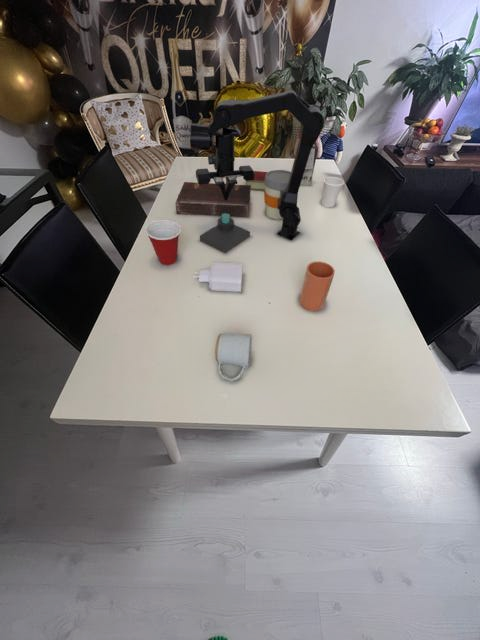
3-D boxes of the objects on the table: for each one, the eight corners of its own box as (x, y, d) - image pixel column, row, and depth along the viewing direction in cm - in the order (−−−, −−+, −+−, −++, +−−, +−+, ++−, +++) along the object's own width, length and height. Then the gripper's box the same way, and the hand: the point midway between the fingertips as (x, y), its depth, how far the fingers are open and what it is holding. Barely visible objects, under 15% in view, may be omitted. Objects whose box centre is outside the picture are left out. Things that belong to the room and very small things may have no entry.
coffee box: (311, 185, 141) (318, 148, 130) (297, 185, 141) (303, 148, 130) (308, 177, 148) (315, 141, 136) (295, 177, 148) (301, 141, 136)
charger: (196, 271, 96) (242, 274, 96) (191, 290, 90) (241, 293, 89) (194, 259, 92) (243, 261, 92) (189, 278, 86) (241, 281, 86)
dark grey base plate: (225, 224, 116) (224, 215, 113) (250, 236, 111) (251, 226, 108) (199, 240, 108) (198, 230, 105) (225, 253, 103) (225, 243, 100)
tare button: (225, 218, 112) (225, 212, 110) (231, 221, 110) (231, 215, 108) (220, 222, 110) (219, 215, 108) (226, 224, 109) (226, 218, 107)
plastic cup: (178, 272, 95) (173, 239, 86) (147, 267, 97) (138, 234, 88) (189, 253, 103) (185, 221, 94) (159, 248, 104) (153, 216, 95)
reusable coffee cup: (257, 218, 120) (260, 179, 109) (266, 204, 128) (270, 167, 117) (287, 224, 117) (294, 185, 106) (295, 209, 125) (301, 172, 114)
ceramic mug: (219, 344, 76) (218, 324, 70) (251, 347, 76) (253, 328, 70) (212, 380, 69) (210, 362, 63) (247, 384, 69) (248, 366, 63)
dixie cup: (339, 208, 127) (346, 185, 119) (319, 208, 127) (325, 184, 119) (335, 199, 132) (341, 176, 125) (316, 199, 132) (321, 175, 125)
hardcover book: (247, 178, 145) (248, 169, 142) (290, 181, 144) (292, 172, 141) (245, 189, 137) (245, 179, 134) (290, 192, 136) (292, 183, 133)
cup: (306, 290, 91) (315, 258, 82) (328, 301, 88) (339, 268, 79) (294, 303, 87) (301, 270, 78) (316, 314, 84) (326, 282, 75)
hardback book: (176, 214, 120) (175, 202, 117) (185, 193, 133) (184, 181, 129) (248, 218, 119) (249, 206, 116) (250, 196, 132) (250, 185, 128)
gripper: (247, 141, 99) (245, 187, 111) (191, 144, 96) (195, 192, 107) (256, 152, 92) (253, 201, 104) (196, 156, 89) (200, 206, 100)
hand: (225, 200), depth 104 cm, fingers closed
